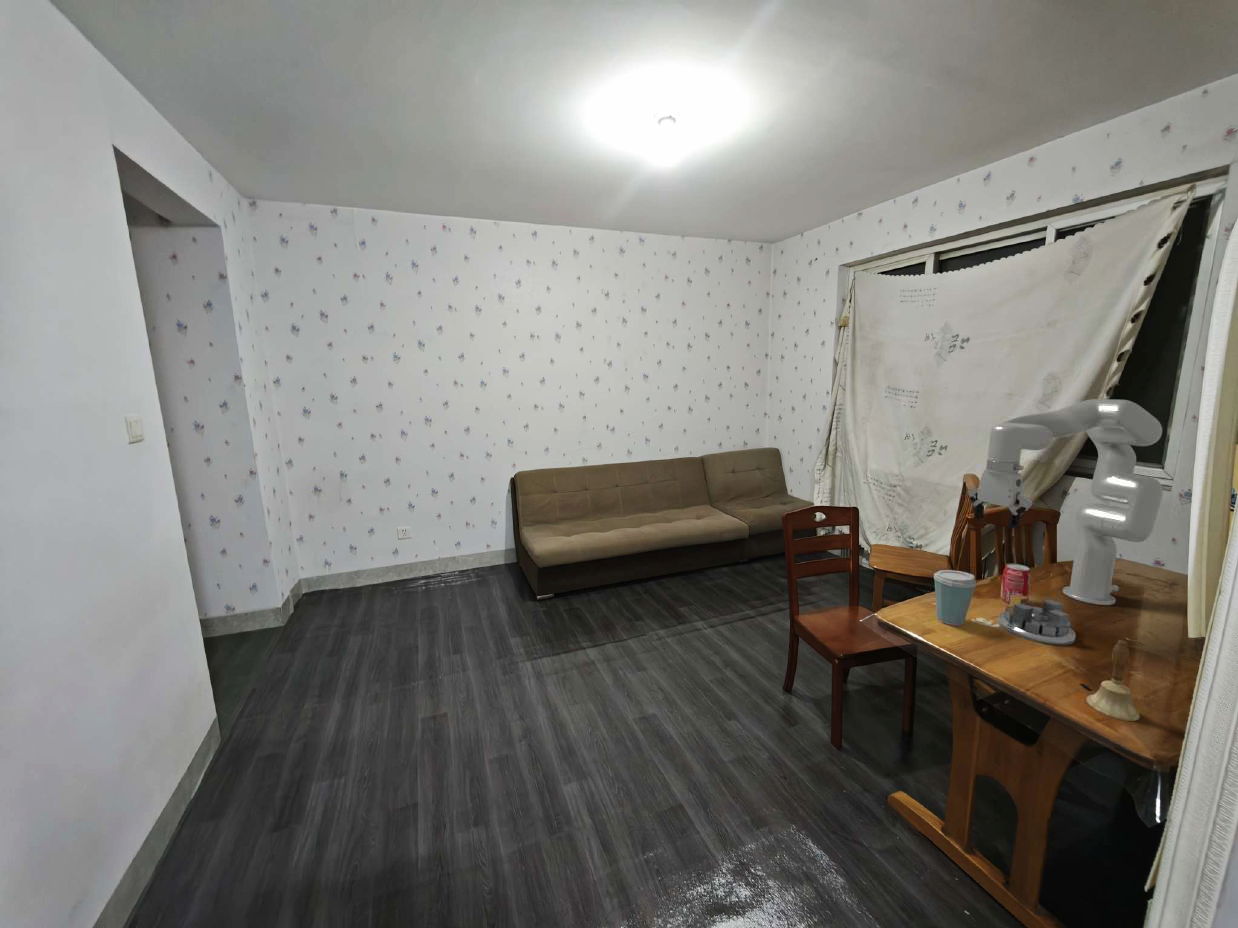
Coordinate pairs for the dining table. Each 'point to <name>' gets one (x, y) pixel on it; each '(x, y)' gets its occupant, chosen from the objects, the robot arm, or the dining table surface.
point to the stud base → (1033, 636)
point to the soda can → (1015, 581)
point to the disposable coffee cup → (953, 595)
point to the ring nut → (1022, 618)
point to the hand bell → (1115, 689)
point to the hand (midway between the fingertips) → (995, 522)
